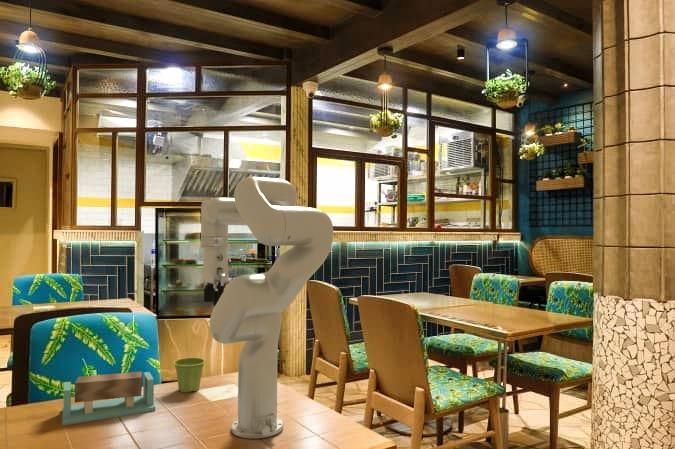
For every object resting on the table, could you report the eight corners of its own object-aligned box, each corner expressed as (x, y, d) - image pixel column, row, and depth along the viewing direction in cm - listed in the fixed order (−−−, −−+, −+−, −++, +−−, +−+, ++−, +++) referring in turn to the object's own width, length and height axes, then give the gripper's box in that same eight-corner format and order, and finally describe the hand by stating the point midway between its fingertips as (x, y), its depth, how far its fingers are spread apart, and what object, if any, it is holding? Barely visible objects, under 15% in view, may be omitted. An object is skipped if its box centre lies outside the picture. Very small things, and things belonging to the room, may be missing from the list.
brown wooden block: (74, 402, 128) (74, 383, 128) (78, 395, 134) (78, 376, 134) (141, 395, 134) (141, 377, 134) (141, 389, 139) (141, 371, 139)
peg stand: (148, 397, 144) (149, 370, 145) (155, 410, 134) (155, 380, 134) (62, 410, 134) (63, 380, 134) (62, 425, 123) (62, 393, 123)
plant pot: (209, 385, 156) (209, 357, 156) (198, 395, 147) (198, 365, 147) (180, 384, 157) (181, 357, 157) (167, 394, 148) (168, 364, 148)
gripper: (237, 243, 136) (236, 306, 135) (218, 242, 151) (218, 299, 150) (209, 243, 132) (209, 308, 132) (193, 243, 147) (193, 300, 147)
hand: (214, 303), depth 141 cm, fingers open, 9 cm apart
